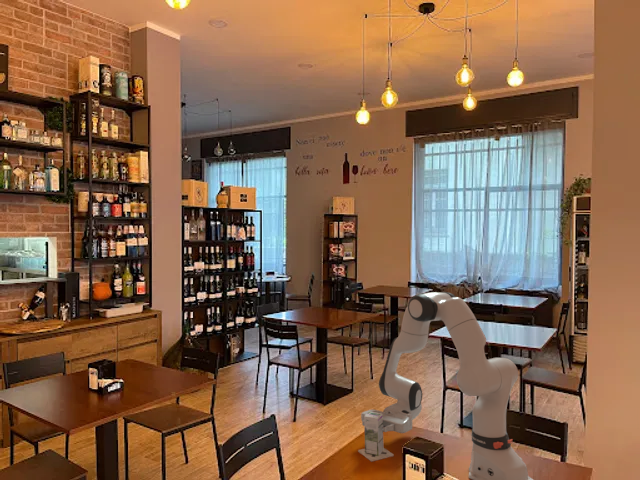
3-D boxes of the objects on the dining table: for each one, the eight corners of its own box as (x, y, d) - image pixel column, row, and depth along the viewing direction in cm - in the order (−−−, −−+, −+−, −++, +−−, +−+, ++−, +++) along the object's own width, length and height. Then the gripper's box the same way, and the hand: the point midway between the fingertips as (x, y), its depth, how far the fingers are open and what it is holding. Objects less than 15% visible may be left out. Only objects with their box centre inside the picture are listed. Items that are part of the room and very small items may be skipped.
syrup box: (384, 450, 190) (383, 412, 190) (378, 456, 185) (377, 417, 185) (370, 447, 192) (369, 410, 192) (364, 453, 187) (363, 415, 187)
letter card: (393, 455, 186) (393, 454, 186) (371, 461, 182) (371, 459, 182) (379, 446, 195) (379, 444, 195) (358, 451, 191) (358, 449, 191)
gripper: (372, 403, 205) (352, 412, 195) (415, 414, 191) (395, 424, 181) (373, 418, 205) (352, 428, 195) (415, 430, 191) (395, 441, 181)
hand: (373, 426), depth 188 cm, fingers open, 8 cm apart
